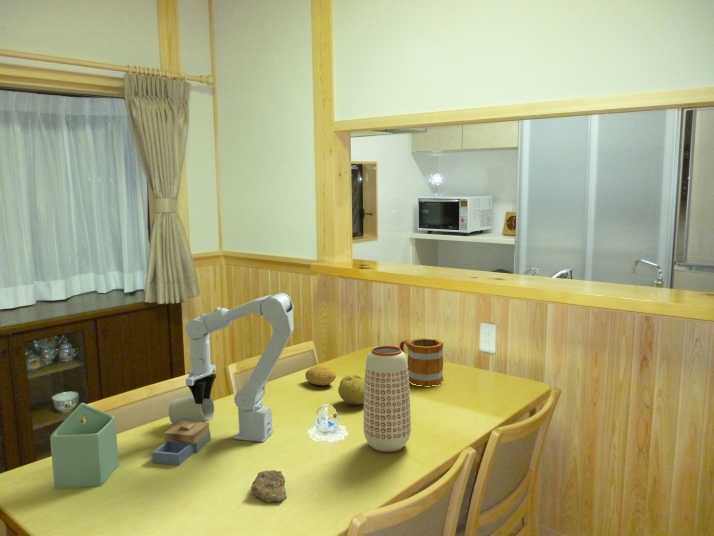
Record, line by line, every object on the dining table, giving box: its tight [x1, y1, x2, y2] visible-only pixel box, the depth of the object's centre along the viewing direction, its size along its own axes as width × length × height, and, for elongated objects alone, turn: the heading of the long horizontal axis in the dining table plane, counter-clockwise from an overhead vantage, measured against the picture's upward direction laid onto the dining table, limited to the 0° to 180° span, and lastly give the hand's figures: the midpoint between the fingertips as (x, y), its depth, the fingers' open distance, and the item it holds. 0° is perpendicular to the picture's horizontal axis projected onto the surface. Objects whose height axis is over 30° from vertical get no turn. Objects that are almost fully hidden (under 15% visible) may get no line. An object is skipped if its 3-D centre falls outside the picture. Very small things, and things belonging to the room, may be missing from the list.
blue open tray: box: [151, 441, 196, 466], centre depth 160 cm, size 8×8×3 cm
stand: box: [194, 430, 212, 453], centre depth 168 cm, size 10×8×3 cm
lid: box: [164, 421, 210, 444], centre depth 167 cm, size 9×9×3 cm
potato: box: [305, 365, 337, 387], centre depth 218 cm, size 9×13×7 cm
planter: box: [49, 402, 120, 490], centre depth 147 cm, size 16×8×20 cm, turn 138°
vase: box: [363, 345, 412, 454], centre depth 164 cm, size 13×13×28 cm
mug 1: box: [168, 395, 215, 426], centre depth 182 cm, size 12×8×11 cm
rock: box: [250, 469, 288, 503], centre depth 140 cm, size 9×6×10 cm
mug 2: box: [399, 338, 444, 386], centre depth 222 cm, size 20×14×15 cm
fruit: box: [337, 373, 365, 405], centre depth 198 cm, size 11×12×10 cm
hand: (202, 401), depth 176 cm, fingers open, 4 cm apart
